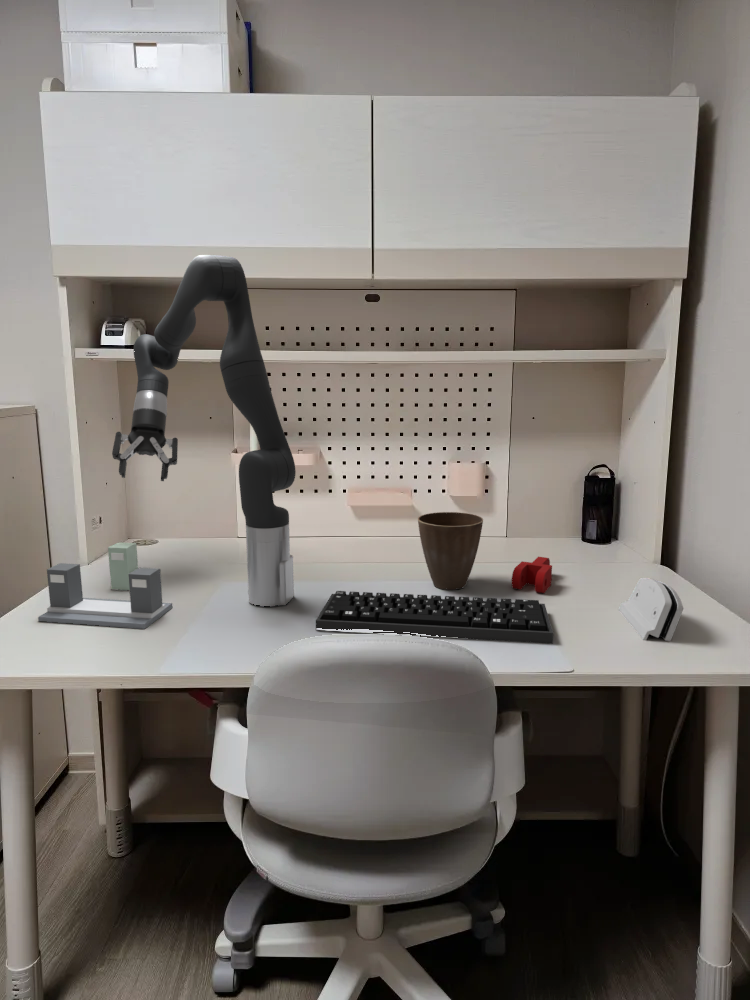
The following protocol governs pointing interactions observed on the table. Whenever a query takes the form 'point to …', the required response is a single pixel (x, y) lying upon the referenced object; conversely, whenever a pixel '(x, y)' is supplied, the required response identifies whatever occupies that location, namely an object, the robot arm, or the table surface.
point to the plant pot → (450, 546)
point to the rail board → (104, 600)
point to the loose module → (122, 564)
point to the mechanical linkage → (533, 574)
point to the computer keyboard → (439, 616)
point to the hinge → (652, 609)
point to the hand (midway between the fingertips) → (143, 478)
